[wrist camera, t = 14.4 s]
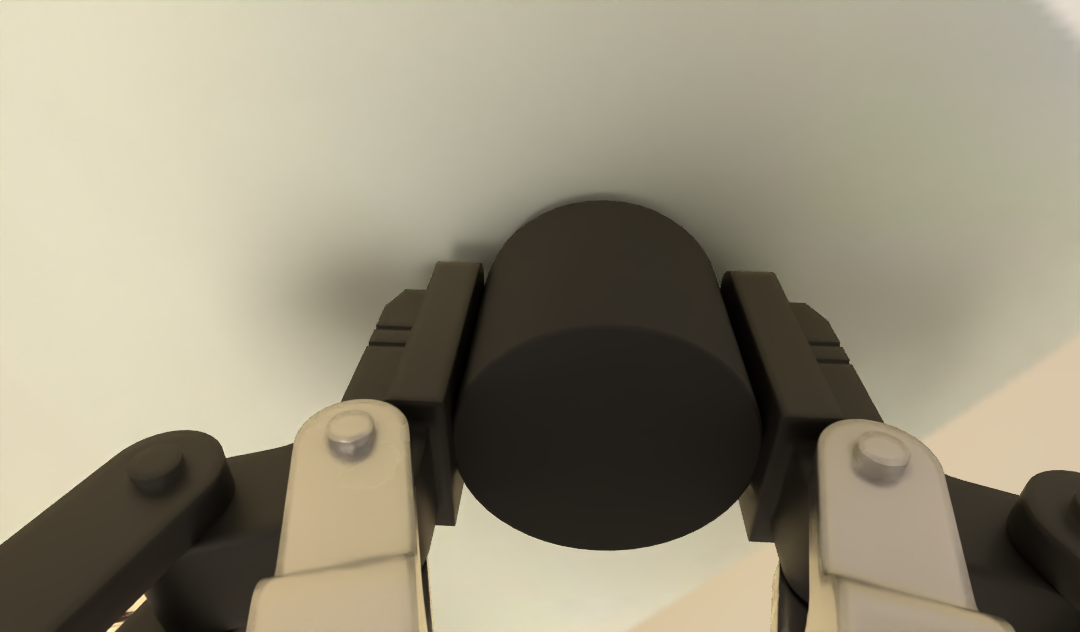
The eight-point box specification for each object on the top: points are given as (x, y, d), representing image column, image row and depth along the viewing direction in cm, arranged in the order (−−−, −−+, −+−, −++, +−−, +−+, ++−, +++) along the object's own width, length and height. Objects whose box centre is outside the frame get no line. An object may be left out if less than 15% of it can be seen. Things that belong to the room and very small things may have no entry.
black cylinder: (478, 195, 10) (437, 320, 7) (735, 202, 10) (796, 332, 7) (488, 390, 13) (460, 545, 10) (699, 399, 12) (735, 559, 10)
